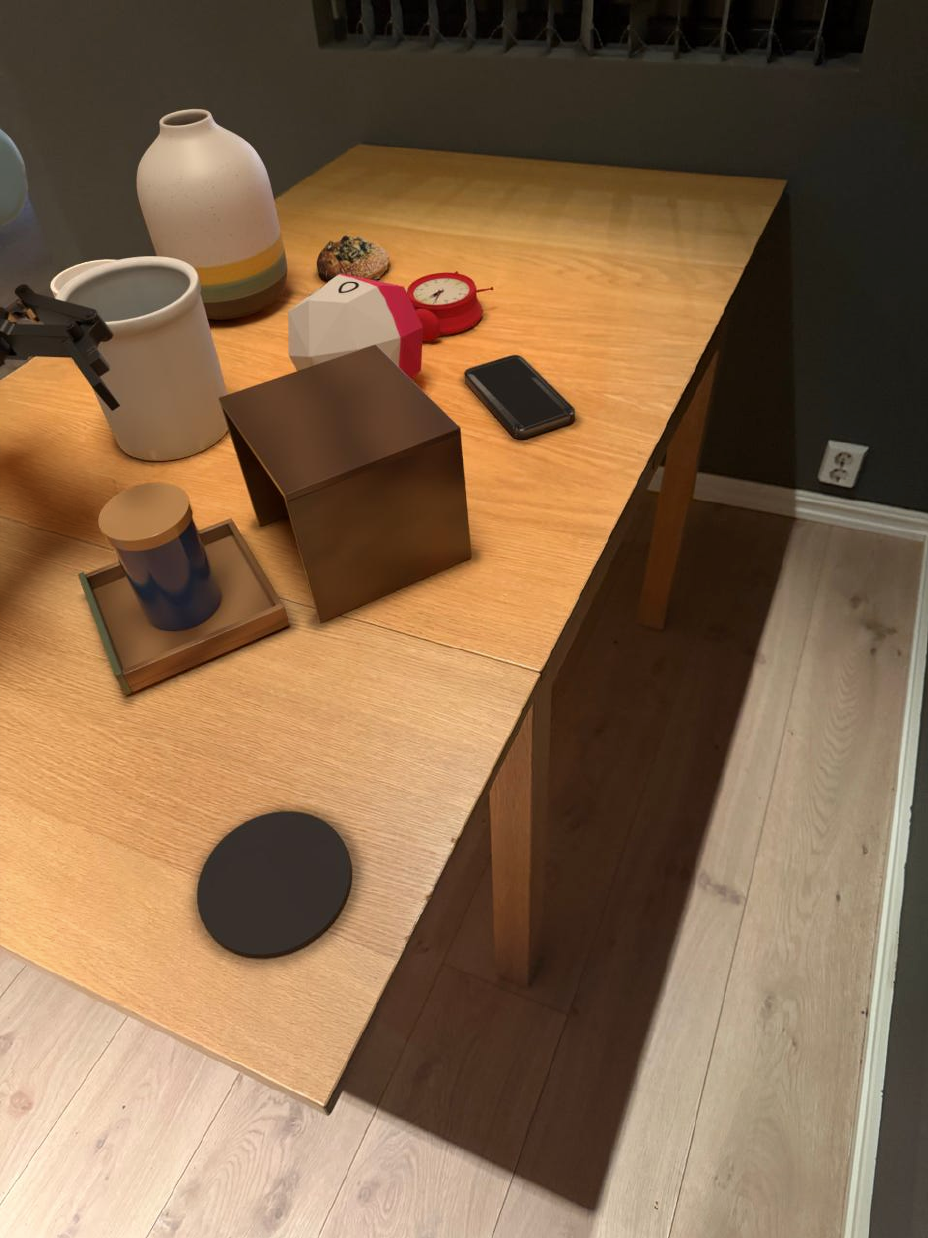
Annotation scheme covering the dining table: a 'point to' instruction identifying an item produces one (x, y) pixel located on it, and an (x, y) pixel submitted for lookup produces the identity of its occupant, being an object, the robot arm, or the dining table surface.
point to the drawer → (160, 653)
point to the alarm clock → (445, 303)
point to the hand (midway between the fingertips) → (30, 448)
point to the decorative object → (355, 323)
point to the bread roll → (352, 259)
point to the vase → (213, 213)
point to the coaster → (274, 884)
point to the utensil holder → (155, 356)
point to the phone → (519, 396)
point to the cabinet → (354, 475)
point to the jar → (162, 555)
